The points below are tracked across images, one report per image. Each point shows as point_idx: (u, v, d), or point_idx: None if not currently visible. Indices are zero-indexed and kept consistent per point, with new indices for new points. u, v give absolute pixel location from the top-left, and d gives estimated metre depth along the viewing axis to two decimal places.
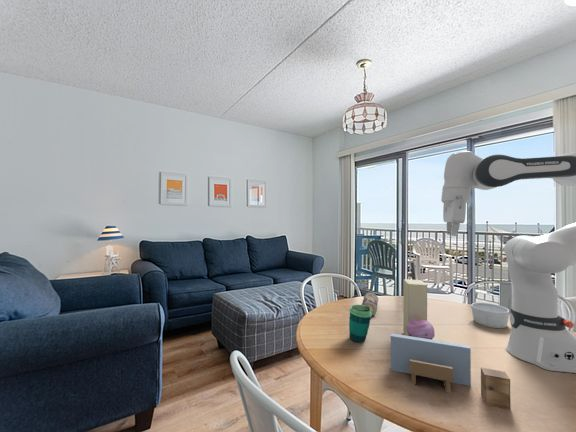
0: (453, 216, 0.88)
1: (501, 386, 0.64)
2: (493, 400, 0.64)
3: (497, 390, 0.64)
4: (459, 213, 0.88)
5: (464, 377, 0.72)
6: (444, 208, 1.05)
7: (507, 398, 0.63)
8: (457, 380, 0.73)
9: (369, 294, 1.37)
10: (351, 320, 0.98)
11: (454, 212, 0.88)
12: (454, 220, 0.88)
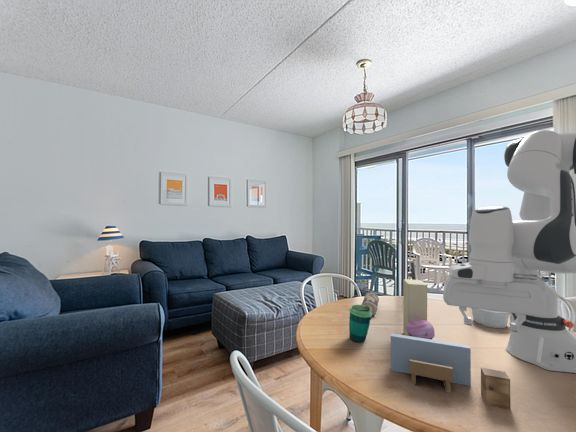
0: (545, 308, 0.61)
1: (501, 386, 0.64)
2: (493, 400, 0.64)
3: (497, 390, 0.64)
4: None
5: (464, 377, 0.72)
6: (454, 285, 0.68)
7: (507, 398, 0.63)
8: (457, 380, 0.73)
9: (369, 294, 1.37)
10: (351, 320, 0.98)
11: (544, 302, 0.61)
12: None
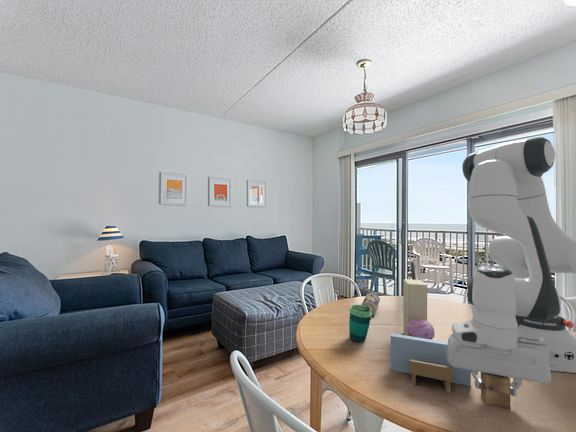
0: (550, 376, 0.60)
1: (501, 386, 0.64)
2: (493, 400, 0.64)
3: (497, 390, 0.64)
4: None
5: (464, 377, 0.72)
6: (458, 348, 0.67)
7: (507, 398, 0.63)
8: (457, 380, 0.73)
9: (370, 294, 1.37)
10: (351, 320, 0.98)
11: (549, 369, 0.61)
12: None
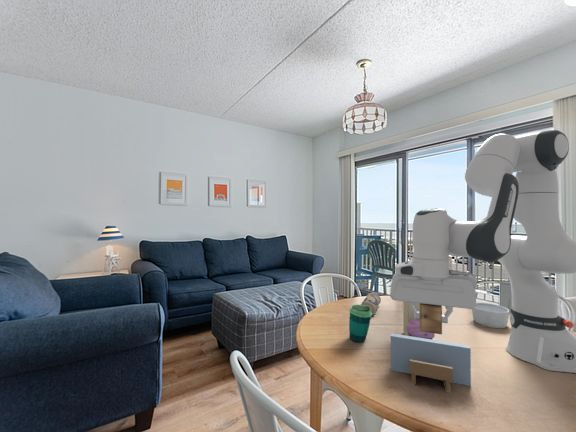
0: (475, 302, 0.67)
1: (434, 314, 0.70)
2: (427, 327, 0.70)
3: (431, 318, 0.70)
4: None
5: (464, 377, 0.72)
6: (398, 282, 0.73)
7: (439, 324, 0.69)
8: (457, 380, 0.73)
9: (371, 294, 1.37)
10: (351, 320, 0.98)
11: (475, 296, 0.67)
12: (475, 306, 0.67)
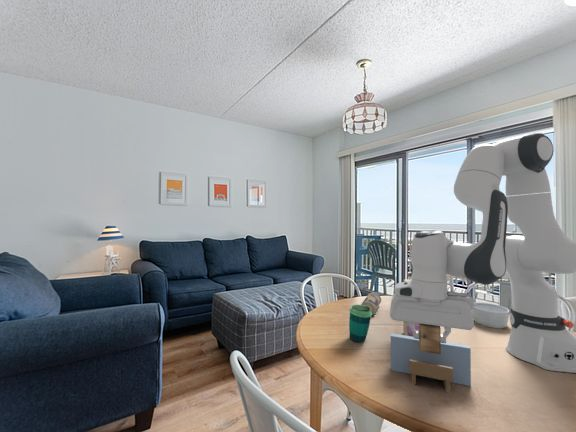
0: (473, 323, 0.69)
1: (433, 334, 0.72)
2: (426, 347, 0.72)
3: (429, 338, 0.72)
4: None
5: (464, 377, 0.72)
6: (397, 302, 0.75)
7: (438, 344, 0.71)
8: (457, 380, 0.73)
9: (371, 294, 1.37)
10: (351, 320, 0.98)
11: (472, 317, 0.69)
12: (472, 327, 0.69)
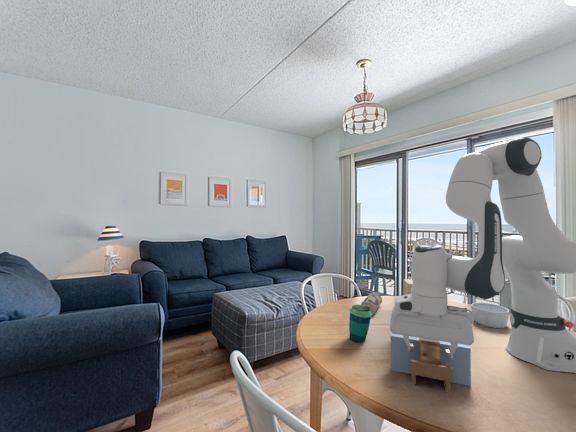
0: (473, 338, 0.69)
1: (433, 352, 0.72)
2: None
3: (430, 356, 0.72)
4: None
5: (464, 377, 0.72)
6: (397, 316, 0.75)
7: (438, 362, 0.71)
8: (457, 380, 0.73)
9: (372, 294, 1.37)
10: (351, 320, 0.98)
11: (472, 333, 0.69)
12: None
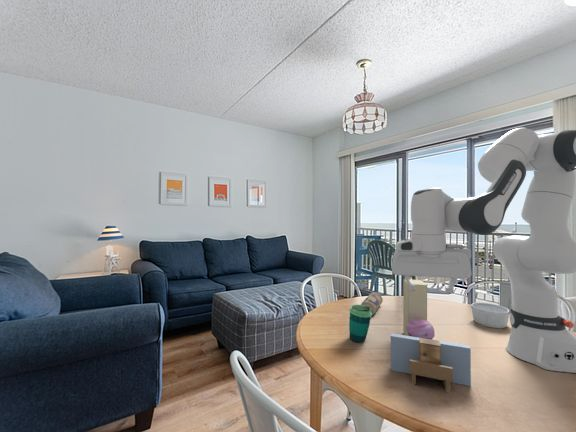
0: (470, 271, 0.72)
1: (433, 352, 0.72)
2: None
3: (430, 356, 0.72)
4: None
5: (464, 377, 0.72)
6: (399, 257, 0.79)
7: (438, 362, 0.71)
8: (457, 380, 0.73)
9: (372, 294, 1.37)
10: (351, 320, 0.98)
11: None
12: None
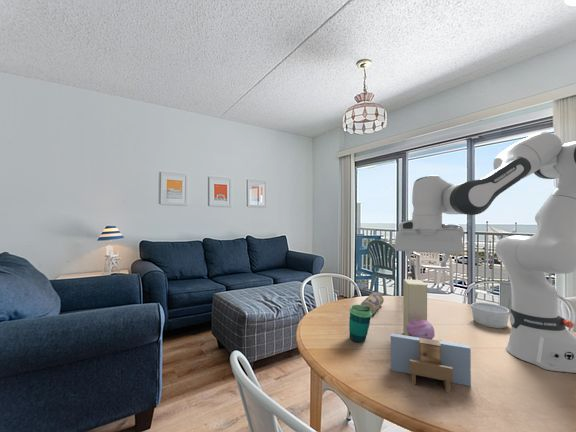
0: (462, 247, 0.84)
1: (433, 352, 0.72)
2: None
3: (430, 356, 0.72)
4: None
5: (464, 377, 0.72)
6: (401, 235, 0.91)
7: (438, 362, 0.71)
8: (457, 380, 0.73)
9: (373, 294, 1.37)
10: (351, 320, 0.98)
11: None
12: (462, 251, 0.85)
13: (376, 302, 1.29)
